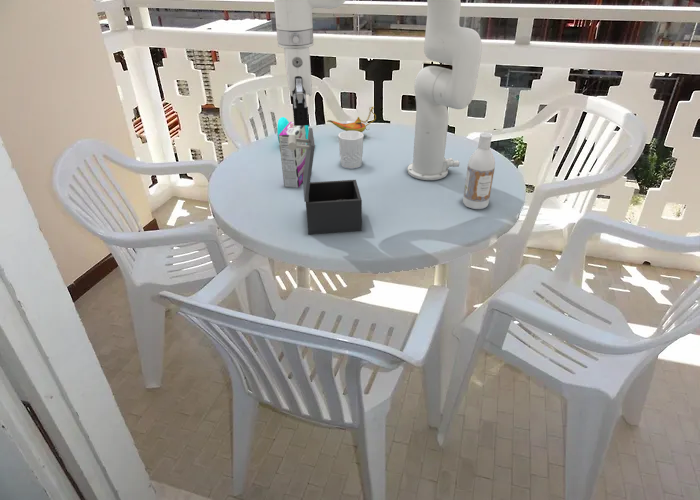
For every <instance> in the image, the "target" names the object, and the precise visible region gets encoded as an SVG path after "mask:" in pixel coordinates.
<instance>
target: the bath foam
mask: <svg viewBox="0 0 700 500" xmlns="http://www.w3.org/2000/svg"><path fill="white" fill-rule="evenodd" d="M492 137H493V136H492V134H491V133H489V132H482V133H480V134H479V138H478V147H477V148H476V149H475V150H474V151H473V152H472V154H471V155H470V156H469V159H468V161H467V166H466V167H467V168H466V174H465V182H464V190H463V198H462V203H463V205H464V206H465V207H467V208H469V209H473V210H482V209H485V208H487V207H488V206H489V203H490V198H491V193H492V187H493V186H492V185H493V179H494V175H495V174H494V173H495V168H496V160H495V156H494V153H493V152H492V150H491V143H492Z"/></svg>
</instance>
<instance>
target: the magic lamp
mask: <svg viewBox="0 0 700 500" xmlns="http://www.w3.org/2000/svg"><path fill="white" fill-rule="evenodd" d="M374 110H375V106H369V112H368V117H367V118H366V120H362V119H361V118H360V116H357V118H356V120H355V121H354V122H349V123H341V122H338V121H335V120H332V119H331V120H330V119H328V120H326V122H328V123H331V124H332V125H334V126H335V127H337V128H339V129H340V130H343V131H359V132H361V133H363V132H364V131H369V130H370V128H368V129H367V126H369V125H370V124H371V123H373V122H374V121H376V119H377V115H376V114H375V113H374ZM371 113H372V115H374V119H373V120H372V121H370V122H368V121H369V120H370V118H371ZM367 122H368V123H367ZM365 123H367V124H365Z"/></svg>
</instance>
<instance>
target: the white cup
mask: <svg viewBox="0 0 700 500" xmlns="http://www.w3.org/2000/svg"><path fill="white" fill-rule="evenodd" d="M338 149H339V158H340V165H341V167H342V168H344V169H352V170H353V169H358V168H360V167H362V164H363V154H364V133H363V132H359V131H345V130H343V131H341V132H339V133H338Z"/></svg>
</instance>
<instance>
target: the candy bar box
mask: <svg viewBox="0 0 700 500" xmlns="http://www.w3.org/2000/svg"><path fill="white" fill-rule="evenodd" d="M288 122H289V124H288V125H287V126H286V127H285V128H284V130H283V131H282V132H281V133H280V134H279V135H278V134H277V137H278V136H279V141H278V144H279V153H280V162H281V169H282V177H283V187H284V188H292V189H300V187H301V186H302V185H303V174H304V166H305V158H306V149H302V148H296V149H295V150H290V149H289V148H288V137H289V135H295V136H296V138H301V139H306V132H305V126H295V125H294V121H288ZM297 144H299V145H307V144H306V143H304V142H297Z"/></svg>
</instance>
